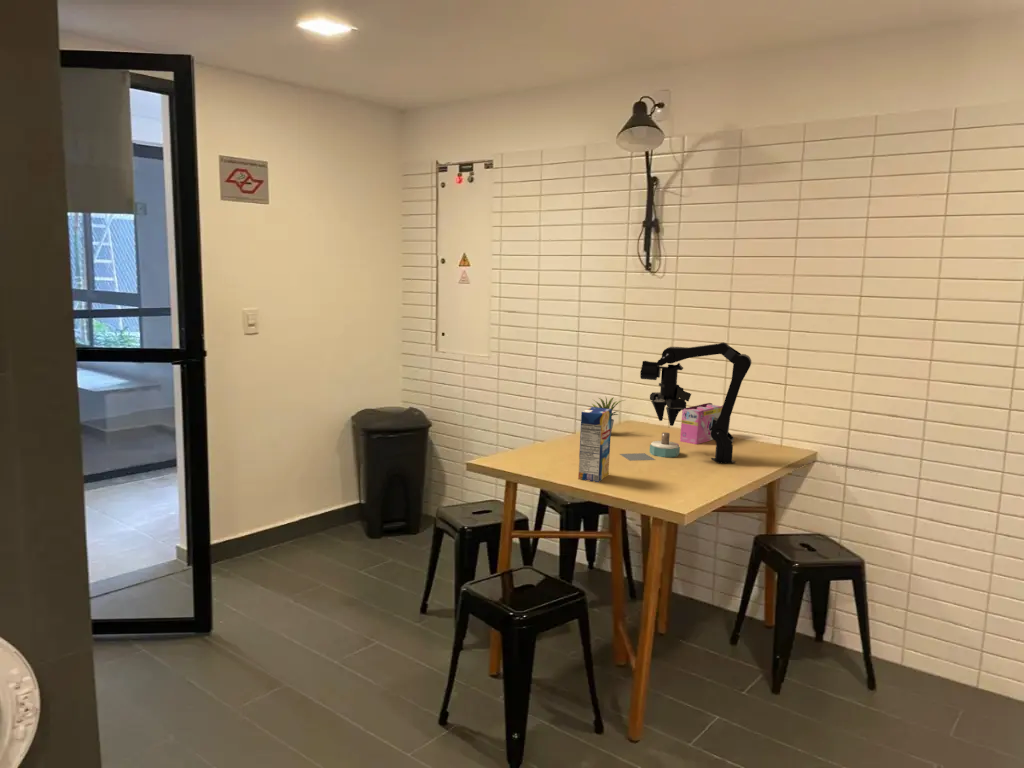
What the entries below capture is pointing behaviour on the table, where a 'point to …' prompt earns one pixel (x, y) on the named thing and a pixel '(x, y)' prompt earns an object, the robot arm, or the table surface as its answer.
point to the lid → (665, 442)
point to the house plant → (608, 407)
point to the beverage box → (595, 444)
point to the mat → (637, 456)
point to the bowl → (664, 452)
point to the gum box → (698, 423)
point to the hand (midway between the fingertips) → (666, 423)
